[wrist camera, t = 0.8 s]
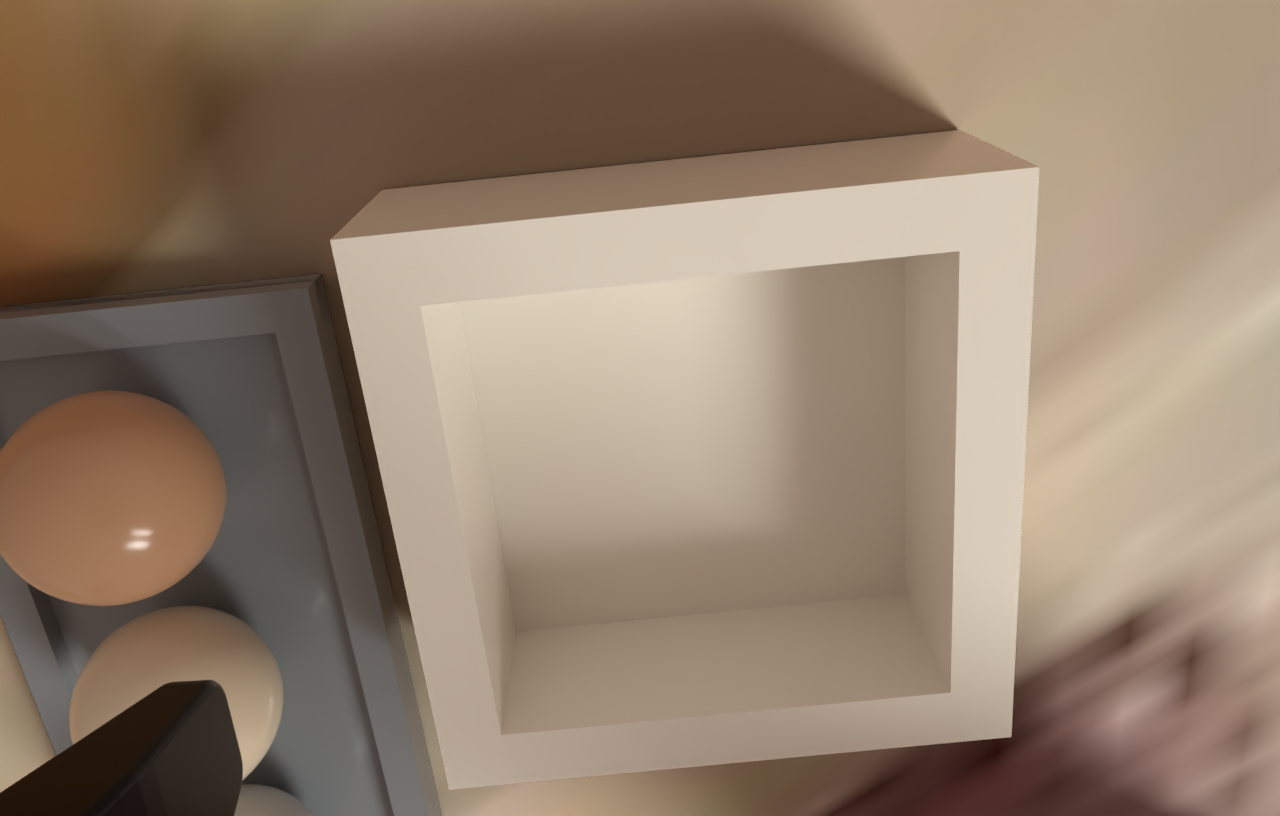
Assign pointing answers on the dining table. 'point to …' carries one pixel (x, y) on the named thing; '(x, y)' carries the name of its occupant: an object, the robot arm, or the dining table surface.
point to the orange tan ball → (108, 498)
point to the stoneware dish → (705, 450)
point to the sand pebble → (184, 672)
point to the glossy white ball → (269, 802)
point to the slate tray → (242, 524)
